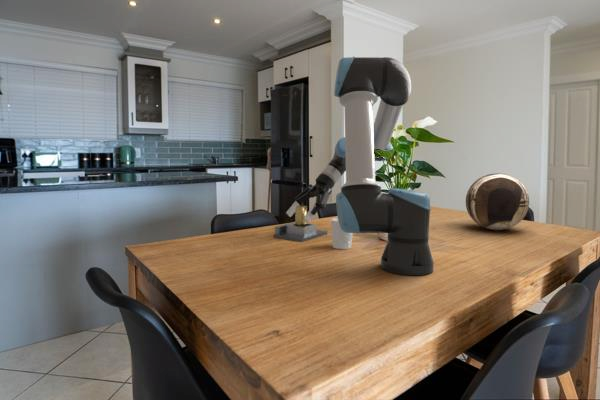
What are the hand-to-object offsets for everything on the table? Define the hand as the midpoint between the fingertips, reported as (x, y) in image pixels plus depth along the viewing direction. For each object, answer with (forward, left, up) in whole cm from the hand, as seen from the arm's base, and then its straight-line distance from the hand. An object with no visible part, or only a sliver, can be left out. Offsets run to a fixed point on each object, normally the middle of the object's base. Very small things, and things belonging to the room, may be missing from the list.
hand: (296, 217), depth 156 cm
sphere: (+65, -62, -8) cm, 90 cm away
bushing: (+2, -1, -7) cm, 7 cm away
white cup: (-4, -23, -8) cm, 25 cm away
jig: (+3, 0, -8) cm, 8 cm away
